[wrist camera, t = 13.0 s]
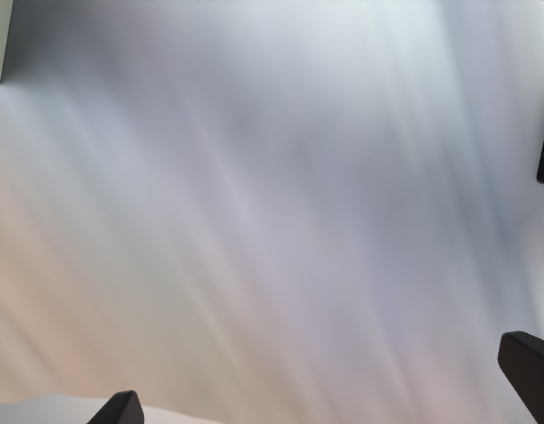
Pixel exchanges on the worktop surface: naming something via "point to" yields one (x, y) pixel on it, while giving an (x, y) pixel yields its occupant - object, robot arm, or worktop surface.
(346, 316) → the worktop surface
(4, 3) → the white rectangular block
